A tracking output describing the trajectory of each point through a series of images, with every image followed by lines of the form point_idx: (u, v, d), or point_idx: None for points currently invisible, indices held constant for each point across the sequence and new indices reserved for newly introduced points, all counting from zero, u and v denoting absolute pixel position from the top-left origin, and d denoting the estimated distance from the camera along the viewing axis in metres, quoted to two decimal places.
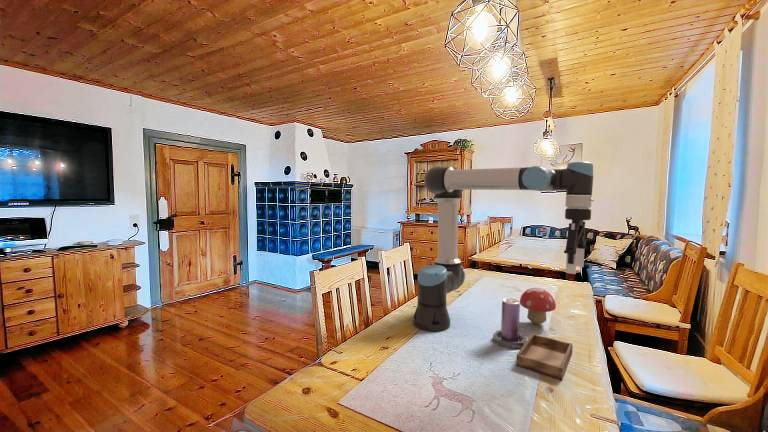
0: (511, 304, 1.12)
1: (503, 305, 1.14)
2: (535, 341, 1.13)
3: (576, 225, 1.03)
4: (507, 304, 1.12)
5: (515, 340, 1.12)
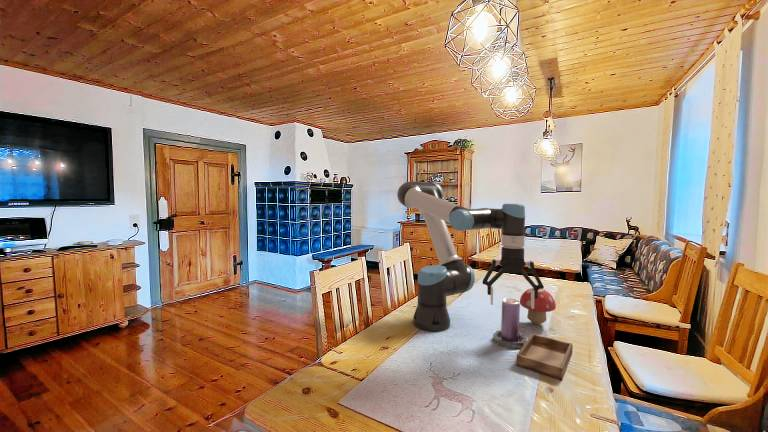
0: (511, 304, 1.12)
1: (503, 305, 1.14)
2: (535, 341, 1.13)
3: (492, 261, 1.14)
4: (507, 304, 1.12)
5: (515, 340, 1.12)
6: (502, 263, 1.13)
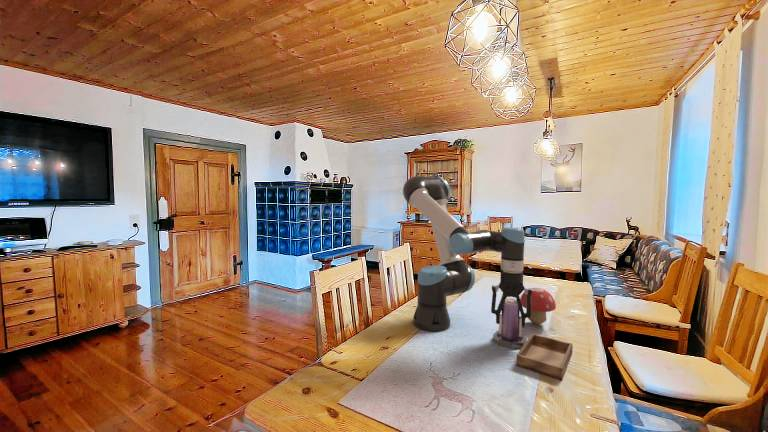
0: (511, 304, 1.12)
1: (503, 305, 1.14)
2: (535, 341, 1.13)
3: None
4: (507, 304, 1.12)
5: (515, 340, 1.12)
6: (501, 287, 1.14)
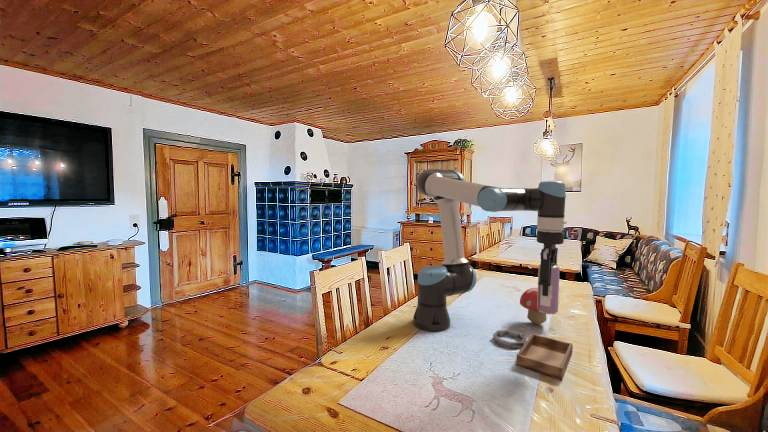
0: (558, 267, 0.99)
1: (552, 271, 0.98)
2: (535, 341, 1.13)
3: (548, 255, 0.95)
4: (557, 268, 0.98)
5: None
6: (551, 251, 0.97)
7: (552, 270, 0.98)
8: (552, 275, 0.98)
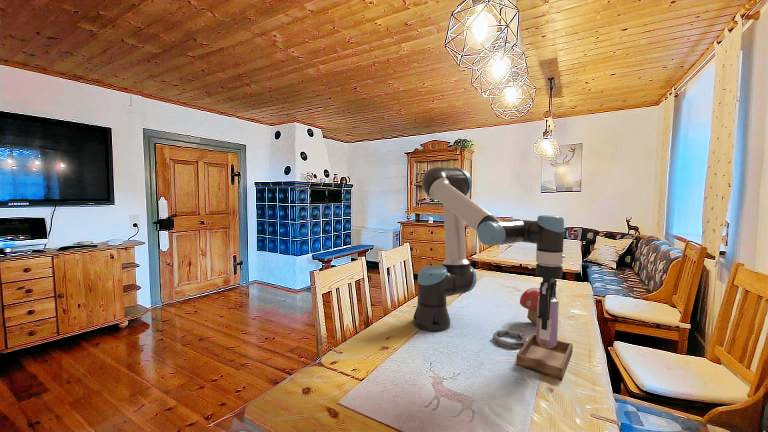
0: (557, 301, 1.00)
1: (551, 305, 0.98)
2: (535, 341, 1.13)
3: (547, 290, 0.95)
4: (556, 302, 0.99)
5: None
6: (550, 285, 0.98)
7: (551, 304, 0.98)
8: (551, 309, 0.98)
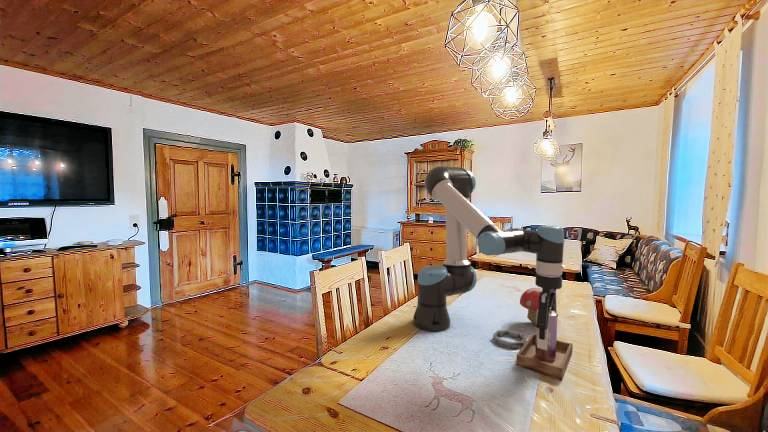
0: (556, 314, 1.00)
1: (550, 319, 0.99)
2: (535, 341, 1.13)
3: (546, 298, 0.95)
4: (554, 316, 0.99)
5: None
6: (549, 296, 0.98)
7: (550, 318, 0.99)
8: (550, 323, 0.99)
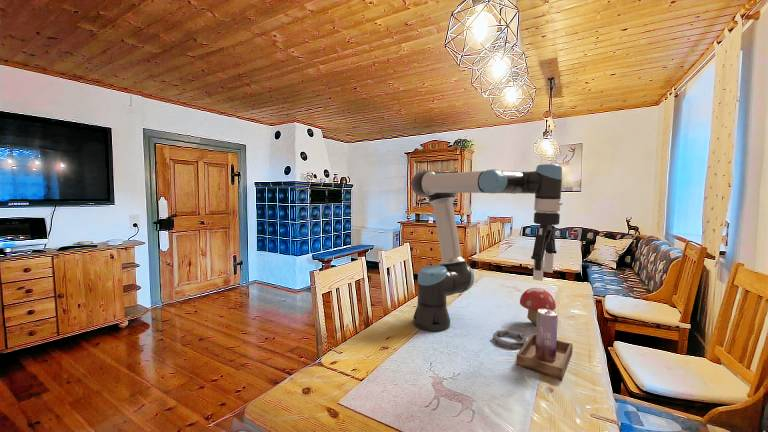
0: (556, 314, 1.00)
1: (550, 319, 0.99)
2: (535, 341, 1.13)
3: (543, 230, 0.98)
4: (555, 316, 0.99)
5: None
6: (547, 231, 1.01)
7: (550, 318, 0.99)
8: (550, 323, 0.99)
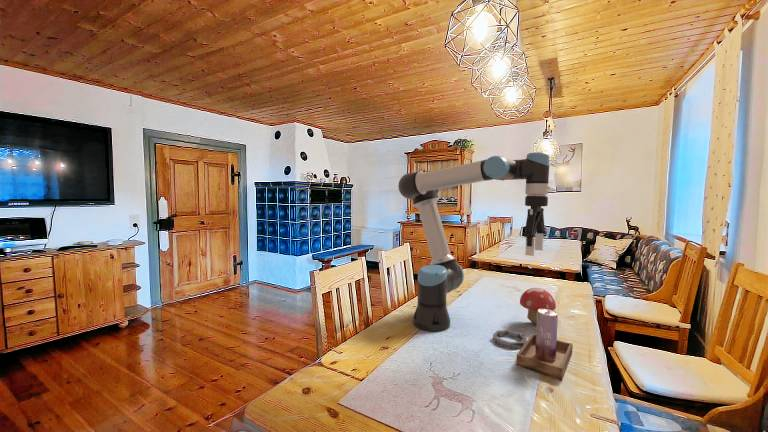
0: None
1: (550, 319, 0.99)
2: (535, 341, 1.13)
3: (534, 210, 1.11)
4: (555, 316, 0.99)
5: None
6: (536, 212, 1.14)
7: (550, 318, 0.99)
8: (550, 323, 0.99)
